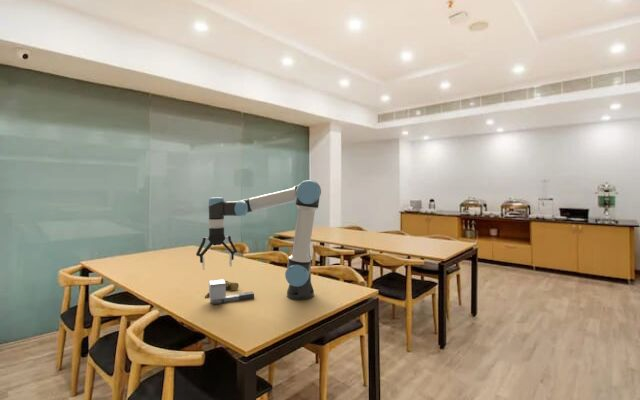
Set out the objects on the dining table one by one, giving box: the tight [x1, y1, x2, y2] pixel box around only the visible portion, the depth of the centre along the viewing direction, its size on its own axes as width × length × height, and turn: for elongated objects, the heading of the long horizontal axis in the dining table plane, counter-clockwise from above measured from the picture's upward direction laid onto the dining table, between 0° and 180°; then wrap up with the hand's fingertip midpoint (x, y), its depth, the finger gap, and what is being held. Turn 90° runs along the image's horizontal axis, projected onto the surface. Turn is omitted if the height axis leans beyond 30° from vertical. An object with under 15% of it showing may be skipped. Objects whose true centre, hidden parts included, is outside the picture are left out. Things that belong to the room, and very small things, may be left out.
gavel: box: [204, 280, 240, 299], centre depth 185 cm, size 21×5×10 cm
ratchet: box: [209, 291, 255, 306], centre depth 172 cm, size 22×7×8 cm, turn 114°
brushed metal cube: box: [208, 278, 227, 300], centre depth 169 cm, size 8×8×8 cm
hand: (217, 267), depth 168 cm, fingers open, 13 cm apart
